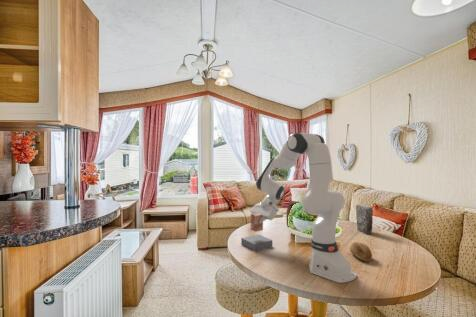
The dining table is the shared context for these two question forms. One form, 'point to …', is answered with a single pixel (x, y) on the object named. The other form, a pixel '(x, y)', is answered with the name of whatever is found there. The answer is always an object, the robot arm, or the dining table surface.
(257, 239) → the base block
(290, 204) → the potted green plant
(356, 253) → the bread roll
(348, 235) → the dining table surface
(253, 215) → the terracotta block
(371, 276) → the dining table surface
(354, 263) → the dining table surface
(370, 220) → the stone block
